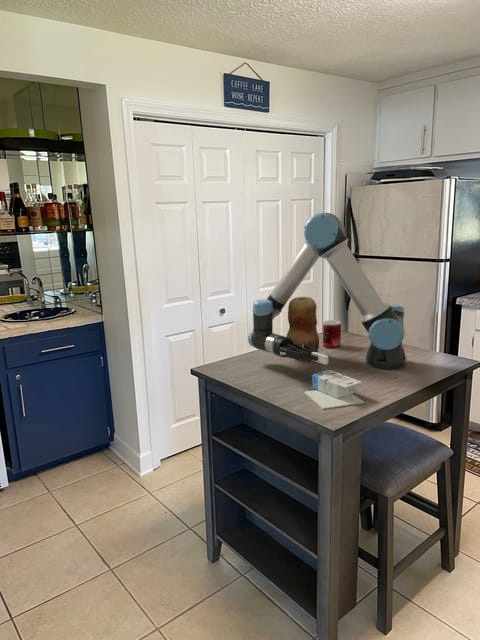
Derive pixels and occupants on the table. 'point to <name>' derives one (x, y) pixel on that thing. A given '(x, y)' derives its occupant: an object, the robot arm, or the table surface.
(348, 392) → the ink box
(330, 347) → the canned food
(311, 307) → the butternut squash
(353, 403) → the sage mat
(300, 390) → the table surface
